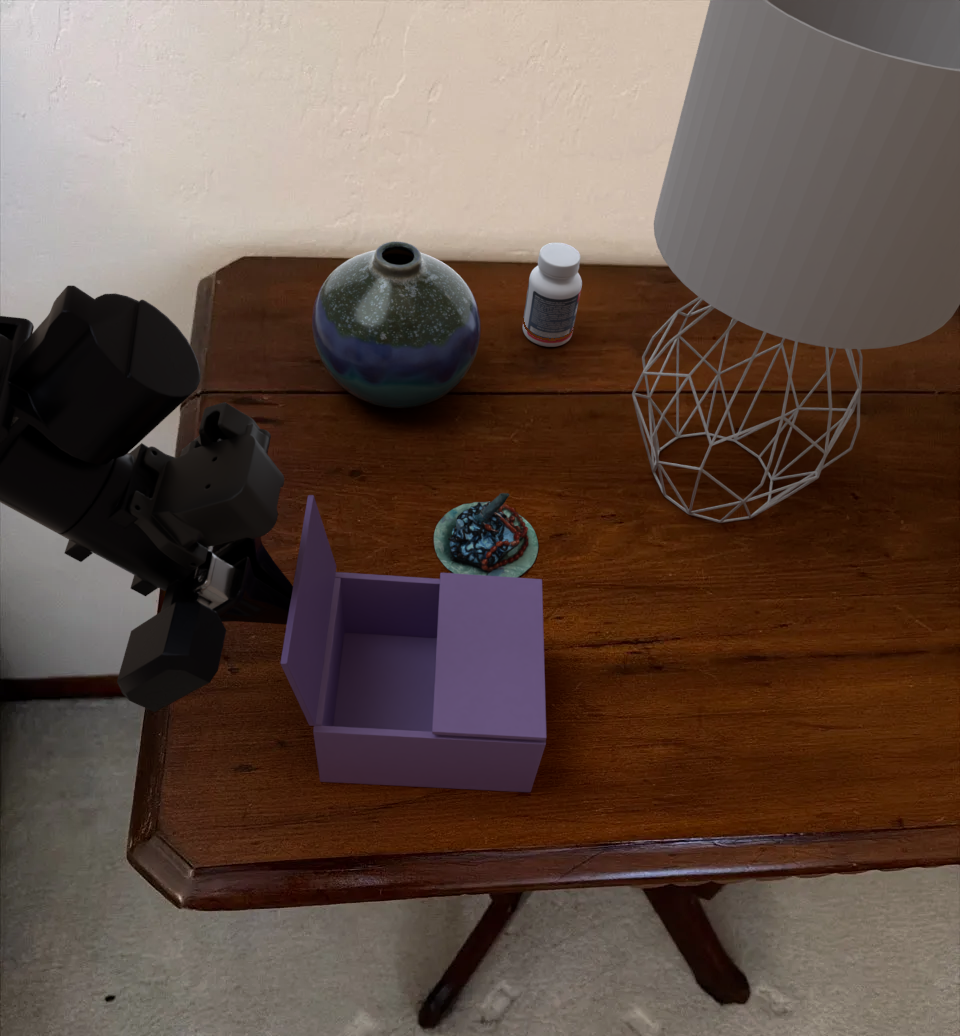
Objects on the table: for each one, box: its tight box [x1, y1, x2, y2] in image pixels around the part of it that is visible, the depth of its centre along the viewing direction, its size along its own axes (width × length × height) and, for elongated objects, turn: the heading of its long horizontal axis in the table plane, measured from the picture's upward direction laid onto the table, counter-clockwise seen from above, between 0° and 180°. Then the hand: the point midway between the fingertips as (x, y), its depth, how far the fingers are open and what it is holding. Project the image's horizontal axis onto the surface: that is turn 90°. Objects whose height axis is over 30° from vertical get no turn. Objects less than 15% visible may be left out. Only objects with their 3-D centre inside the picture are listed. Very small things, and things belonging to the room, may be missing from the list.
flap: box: [279, 494, 337, 727], centre depth 58 cm, size 7×13×1 cm
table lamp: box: [631, 0, 960, 524], centre depth 68 cm, size 22×22×40 cm
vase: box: [311, 240, 482, 409], centre depth 83 cm, size 15×15×13 cm
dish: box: [433, 492, 539, 578], centre depth 78 cm, size 8×7×8 cm
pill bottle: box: [522, 242, 583, 348], centre depth 91 cm, size 5×5×9 cm
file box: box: [312, 571, 547, 793], centre depth 65 cm, size 15×13×8 cm
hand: (306, 618), depth 59 cm, fingers closed, pressing on flap
